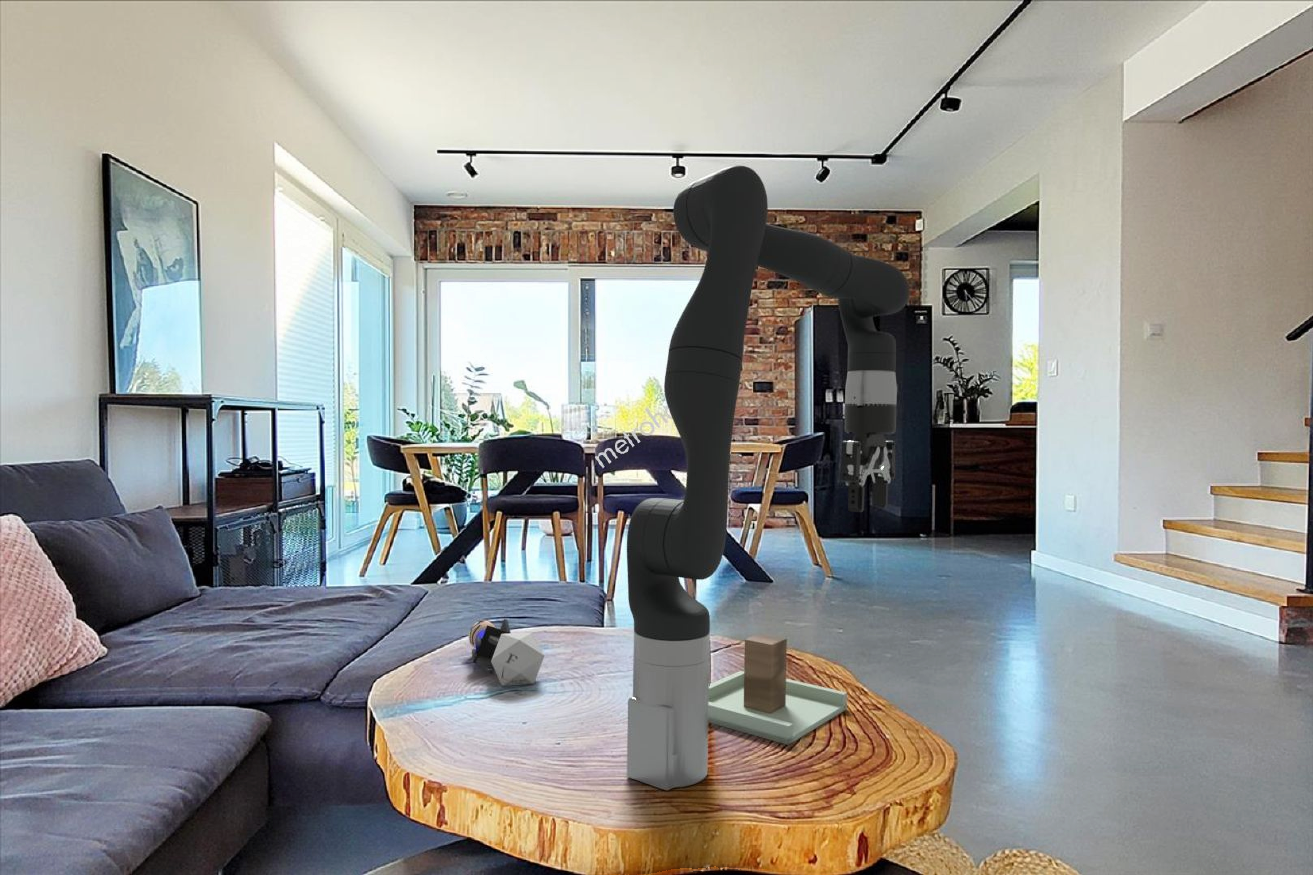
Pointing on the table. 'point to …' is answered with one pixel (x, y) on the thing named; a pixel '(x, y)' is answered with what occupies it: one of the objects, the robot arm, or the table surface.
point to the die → (517, 659)
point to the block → (765, 673)
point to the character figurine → (486, 641)
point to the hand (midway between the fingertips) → (868, 509)
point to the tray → (784, 725)
